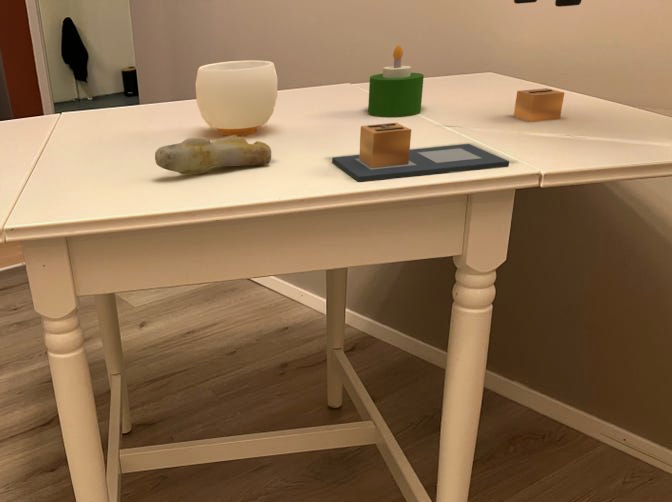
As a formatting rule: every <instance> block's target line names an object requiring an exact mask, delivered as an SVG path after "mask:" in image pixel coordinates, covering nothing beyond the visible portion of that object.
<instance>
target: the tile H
mask: <svg viewBox="0 0 672 502" xmlns="http://www.w3.org/2000/svg"><path fill="white" fill-rule="evenodd" d="M411 138H412V129H411V128H410V127H407V126H406V125H402V124H401V123H399V122H388V123H377V124H367V125H361V126H360V137H359V154H358V155H359V160H361V161H363V162H364V163H366V164H367V165H369V166H370V167H372V168H375V167H385V166H395V165H405V164H409V152H410V150H411V140H412V139H411Z"/></svg>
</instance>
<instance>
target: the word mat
mask: <svg viewBox="0 0 672 502" xmlns="http://www.w3.org/2000/svg"><path fill="white" fill-rule="evenodd" d="M331 163H333V164H334V165H335V166H337V167H338V168H339V169H341V170H342V171H344V173H346V174H348V176H350V177H352V178H353V179H354V180H355V181H357V182H358V183H359V182H370V181H378V180H379V181H380V180H388V179H389V180H390V179H397V178H407V177H416V176H429V175H436V174H446V173H457V172H465V171H475V170H485V169H493V168H494V169H495V168H503V167H509V165H510V160H507V159H505V158H503V157H501V156H498V155H496V154H494V153H492V152H489V151H486V150H484V149H483V148H480V147H478V146H475V145H473V144H470V143H464V144H463V143H461V144H452V145H444V146H441V145H440V146H434V147H433V146H432V147H422V148H413V149H410V152H409V164H405V165H395V166H385V167H375V168H372V167H370V166H369V165H367V164H366V163H364V162H363V161H361V160H359V154H352V155H343V156H333V157H332V158H331Z"/></svg>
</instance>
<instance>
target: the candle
mask: <svg viewBox="0 0 672 502" xmlns="http://www.w3.org/2000/svg"><path fill="white" fill-rule="evenodd" d="M403 50H404V49H403V47H402V46H401V45H399V44H398V45H397V46H395V48H394V50H393V54H392V57H393V65H390V66H389V65H388V66H384V67H382V73H377V74H373V75H371V76H369V85H368V86H369V87H368V107H367V113H368V115H370V116H372V117H373V116H375V117H382V118H383V117H384V118H402V117H409V116H414V115H418V114H420V113H421V111H422V102H423V101H422V99H423V91H424V90H423V88H424V77H425V75H424V74H423V73H420V72H412V66H410V65H402V58H403V55H404V51H403Z"/></svg>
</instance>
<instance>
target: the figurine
mask: <svg viewBox="0 0 672 502" xmlns="http://www.w3.org/2000/svg"><path fill="white" fill-rule="evenodd" d="M271 160H272V149H271V147H270V146H269V144H267V143H265V142H262V141H255V142H254V143H249V142H248V141H247V140H246V138H244V137H239V136H237V135H232V136H225V137H221V138H218V139H215V140H213V141H211V139H210V138H209V137H200V136H199V137H198V136H197V137H188V138H186V139H183V141H181V142H178V143H174V144H167V145H164V146H161V147H158V148H157V149H156V151H155V153H154V161H155V165H157V166H158V167H160V168H161V169H163V170H167V171H170V172H175V173H179V174H181V175H183V176H184V175H185V176H189V175H190V176H194V175H195V176H198V175H202V174H207V173H208V172H209V170H211V169H212V168H216V167H245V166H261V165H268V164H270V163H271Z"/></svg>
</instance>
